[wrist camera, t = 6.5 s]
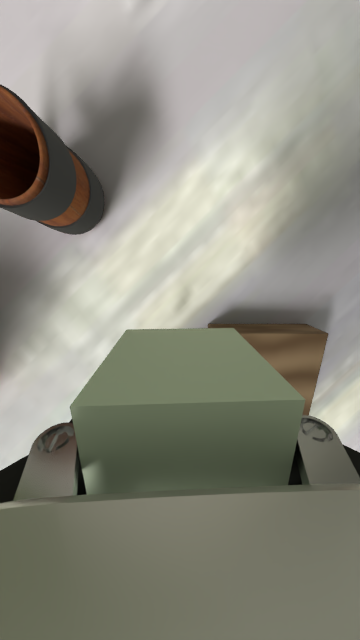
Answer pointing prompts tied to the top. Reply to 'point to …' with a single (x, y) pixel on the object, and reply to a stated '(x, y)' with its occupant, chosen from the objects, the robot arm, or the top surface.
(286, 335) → the walnut block
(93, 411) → the sage cube
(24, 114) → the mug
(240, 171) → the top surface
